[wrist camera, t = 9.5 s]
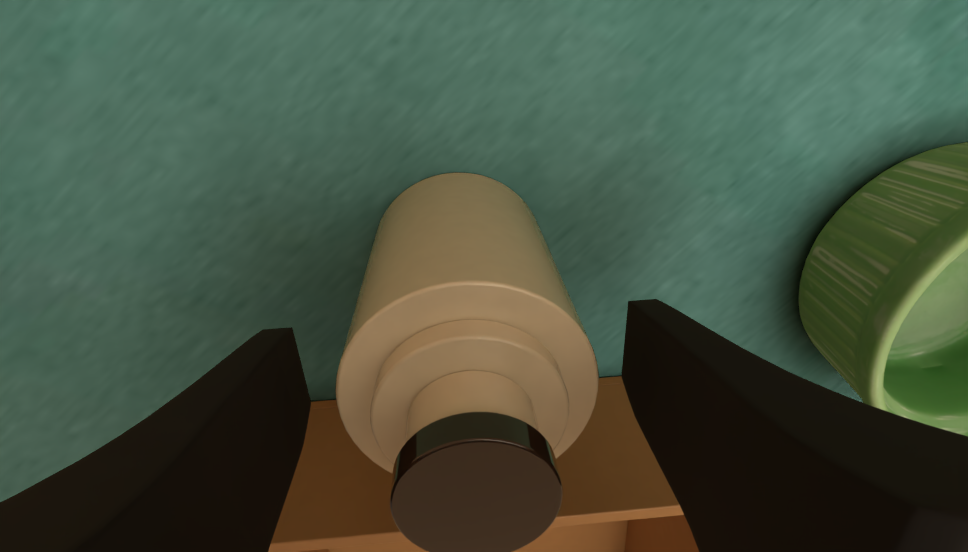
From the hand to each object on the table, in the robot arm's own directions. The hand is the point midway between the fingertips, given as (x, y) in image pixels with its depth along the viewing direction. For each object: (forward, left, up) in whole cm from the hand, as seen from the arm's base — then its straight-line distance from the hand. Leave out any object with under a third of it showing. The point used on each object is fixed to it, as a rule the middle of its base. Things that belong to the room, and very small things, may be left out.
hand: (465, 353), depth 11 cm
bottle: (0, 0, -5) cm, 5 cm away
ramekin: (+15, +1, -5) cm, 16 cm away
